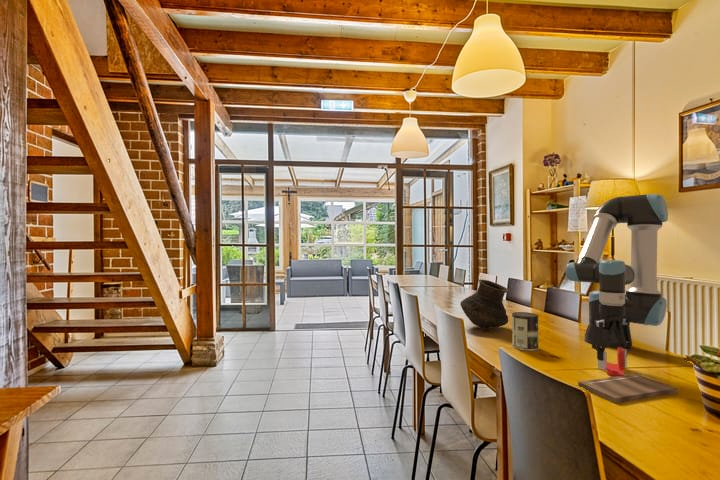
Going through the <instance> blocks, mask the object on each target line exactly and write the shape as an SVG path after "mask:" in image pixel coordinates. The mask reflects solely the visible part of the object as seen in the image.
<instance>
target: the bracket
mask: <svg viewBox="0 0 720 480" xmlns="http://www.w3.org/2000/svg"><path fill="white" fill-rule="evenodd" d="M616 352H617V357H616V358H617V363H612V362H607V371H606V373H607V376H609V377H617V376H624V375H625V373H624V368H623V349H622V348H621V347H617V351H616Z"/></svg>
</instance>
